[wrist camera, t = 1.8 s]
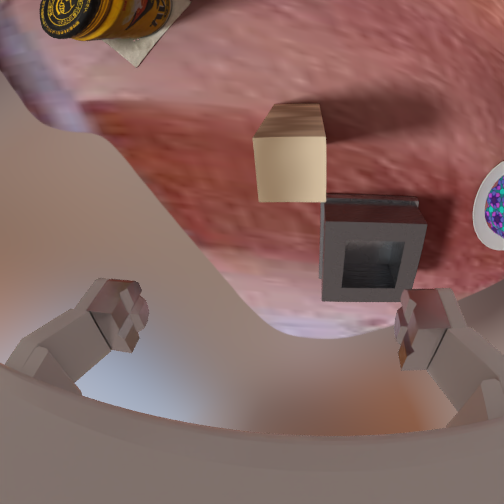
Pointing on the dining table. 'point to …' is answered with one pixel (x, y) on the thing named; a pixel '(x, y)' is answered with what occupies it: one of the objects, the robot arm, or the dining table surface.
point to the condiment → (112, 22)
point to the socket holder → (369, 246)
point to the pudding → (490, 210)
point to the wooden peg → (291, 154)
